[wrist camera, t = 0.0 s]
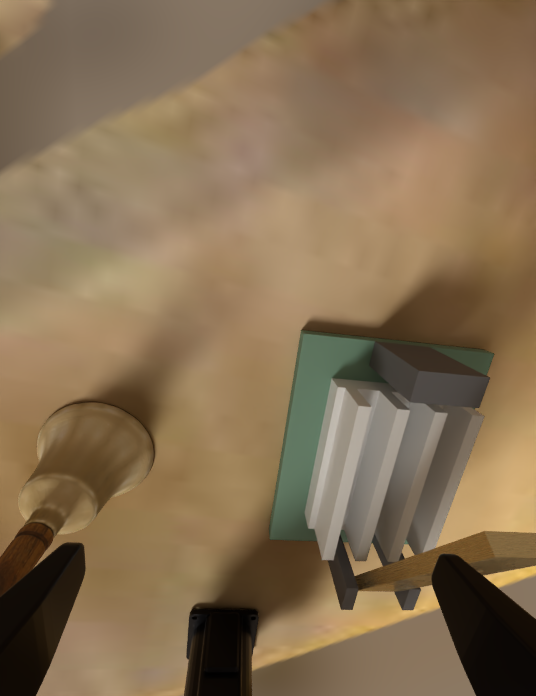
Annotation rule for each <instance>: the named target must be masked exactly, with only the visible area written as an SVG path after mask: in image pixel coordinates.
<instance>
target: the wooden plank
mask: <svg viewBox="0 0 536 696" xmlns="http://www.w3.org/2000/svg"><path fill="white" fill-rule="evenodd" d="M441 554H455V555H458V556H459V557H461V558H462V559H463V560H464V561H466V562H467V563H468V564H469V565H470V566H472V567H473V568H474V569H475V570H477V571H478V572H479V573H480V574H481V575H488V574H493V573H499V572H504V571H509V570H515V569H520V568H525V567H531V566H536V533H518V532H492V531H483V532H480V533H478V534H475V535H472V536H469V537H466V538H463V539H460V540H457V541H455V542H452V543H449V544H446V545H443V546H440V547H437V548H434V549H432V550H429V551H426V552H423V553H420V554H417V555H414V556H411V557H409V558H406V559H403V560H400V561H397V562H394V563H391V564H388V565H386V566H383V567H380V568H377V569H374V570H371V571H368V572H365V573H363V574H360V575H357V576H355V579H356V582H357V585H358V588H359V589H358V591H385V592H398V591H403V590H408V589H414V588H419V587H424V586H430V585H432V580H431V576H432V572H433V570H434V567H435V565H436V562H437V559H438V557H439V555H441Z"/></svg>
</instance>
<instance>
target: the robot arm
mask: <svg viewBox="0 0 536 696" xmlns="http://www.w3.org/2000/svg"><path fill="white" fill-rule="evenodd" d="M84 575H85V552H84V545H83V544H82V543H69V542H68V543H64V544H62V545H61V546H59V547H58V548H57V549H56V550H55V551H53V552H52V553H51V554H50V555H49V556H47V557H46V558H45V559H44V560H43V561H42V562H40V563H39V564H38V565H37V566H36V567H34V568H33V569H32V570H31V571H30V572H29V573H27V574H26V575H25V576H24V577H23V578H21V579H20V580H19V581H18V582H17V583H16V584H14V585H13V586H12V587H11V588H10V589H8V590H7V591H6V592H5V593H4V594H2V595H1V596H0V696H36V694H37V692H38V690H39V688H40V686H41V684H42V682H43V680H44V677H45V675H46V673H47V671H48V669H49V666H50V664H51V662H52V659H53V657H54V654H55V652H56V649H57V646H58V644H59V641H60V639H61V636H62V633H63V631H64V628H65V626H66V623H67V620H68V618H69V615H70V613H71V610H72V607H73V605H74V602H75V600H76V597H77V594H78V592H79V589H80V587H81V584H82V581H83V579H84ZM431 580H432V586H433V589H434V591H435V594H436V597H437V600H438V602H439V605H440V608H441V610H442V613H443V616H444V618H445V621H446V624H447V626H448V629H449V632H450V634H451V637H452V640H453V642H454V645H455V648H456V650H457V653H458V655H459V658H460V660H461V663H462V665H463V667H464V670H465V672H466V674H467V676H468V679H469V681H470V683H471V685H472V687H473V690H474V692H475V694H476V696H536V619H535V618H534V617H532V616H531V615H530V614H529V613H528V612H526V611H525V610H524V609H523V608H521V607H520V606H519V605H518V604H517V603H515V602H514V601H513V600H512V599H511V598H509V597H508V596H507V595H506V594H505V593H503V592H502V591H501V590H500V589H498V588H497V587H496V586H495V585H494V584H492V583H491V582H490V581H489V580H488V579H486V578H485V577H484V576H483V575H481V574H480V573H479V572H478V571H477V570H475V569H474V568H473V567H472V566H470V565H469V564H468V563H467V562H466V561H464V560H463V559H462V558H461V557H459V556H458V555H455V554H441V555H439V557H438V559H437V562H436V565H435V567H434V570H433V572H432V576H431ZM257 624H258V611H256V610H208V609H195V610H192V611H191V612H190V616H189V628H188V642H187V656H186V657H187V659H189V663H188V670H187V677H186V684H185V691H184V696H252V654H253V648H254V642H255V636H256V630H257Z"/></svg>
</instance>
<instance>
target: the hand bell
mask: <svg viewBox="0 0 536 696" xmlns="http://www.w3.org/2000/svg"><path fill="white" fill-rule="evenodd" d="M37 455H38V460H39V464H38V466H37V468H36V469H35V471H34V473H33V474H32V475H31V477H30V478H29V480H28V481H27V482H26V483H25V485H24V486H23V488H22V489H21V492H20V494H19V499H18V504H19V509H20V512H21V514H22V516H23V517H24V519H25V520H26V521H27V522H26V523H25V525H24V527H22V528H21V529H20V530H19V532H18V533H17V535H16V536H15V539H14V540H13V541H12V542H11V543H10V545H9V546H8V547H7V549H6V550H5V551H4V553H3V554H2V556H1V557H0V596H1V595H2V594H4V593H5V592H6V591H7V590H8V589H10V588H11V587H12V586H13V585H14V584H16V583H17V582H18V581H19V580H20V579H21V578H23V577H24V576H25V575H26V574H27V573H29V572H30V571H31V570H32V569H33V568H34V566H35V565H36V564H37V562H38V561H39V559H40V558H41V557H42V555H43V554H44V552H45V551H46V550H47V549H48V547H49V546H50V545H51V543H52V541H53V538H54V537H55V536H56V535H57V534H68V533H73V532H76V531H79V530H81V529H83V528H85V527H86V526H88V525H89V524H90V523H91V522H92V521H93V520H94V519H95V517H96V516H97V514H98V513H99V512H100V510H101V509H102V507H103V506H104V505H105V504H106V503H107V501H108V500H109V499H110V498H111V497H115V496H118V495H121V494H124V493H126V492H128V491H130V490H131V489H133V488H135V487H136V486H137V485H139V484H140V483H141V482H142V481H143V480H144V479H145V478H146V476H147V475H148V473H149V471H150V470H151V467H152V464H153V459H154V449H153V444H152V441H151V438H150V436H149V434H148V432H147V431H146V429H145V428H144V427H143V426H142V424H141V423H140V422H139V421H138V420H137V419H136V418H134V417H133V416H132V415H130V414H128V413H127V412H125V411H123V410H121V409H120V408H117V407H114V406H111V405H107V404H104V403H95V402H87V403H79V404H73V405H70V406H67V407H64V408H63V409H61V410H58V411H57V412H55V413H54V414H53V415H52V416H50V417H49V418H48V419H47V421H46V422H45V423H44V425H43V426H42V428H41V430H40V433H39V436H38V441H37Z"/></svg>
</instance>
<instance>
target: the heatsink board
mask: <svg viewBox="0 0 536 696" xmlns="http://www.w3.org/2000/svg"><path fill="white" fill-rule="evenodd" d="M493 356H494V353H491V352H489V351H486V350H482V349H473V348H464V347H454V346H445V345H436V344H427V343H417V342H408V341H399V340H389V339H380V338H371V337H361V336H352V335H343V334H333V333H324V332H315V331H305V330H301V334H300V340H299V347H298V353H297V359H296V365H295V371H294V378H293V384H292V390H291V396H290V402H289V408H288V415H287V421H286V427H285V433H284V439H283V446H282V452H281V458H280V464H279V470H278V476H277V483H276V489H275V495H274V501H273V507H272V514H271V520H270V526H269V536H270V540H295V541H318V545H319V549H320V553H321V557H322V560H328V562H329V566H330V570H331V574H332V577H333V581H334V585H335V589H336V592H337V596H338V600H339V604H340V607H341V610H353V606H354V603H355V599H356V596H357V593H358V589H359V588H358V585H357V582H356V579H355V576H354V573H353V570H352V567H351V564H350V561H349V558H348V555H347V552H346V549H345V547H344V544H343V542H349V545H350V548H351V550H352V553H353V556H354V559H355V561H366V560H367V557H368V553H369V550H370V546H371V543H373V544H374V547H375V549H376V551H377V554H378V556H379V558H380V560H381V563H382V565H383V566H386V565H388V564H391V563H394V562H397V561H400V560H403V559H405V558H404V556H403V554H402V549H403V546H404V544H409V545H410V547H411V549H412V551H413V553H414V554H415V555H417V554H420V553H423V552H426V551H429V550H432V549H434V548H435V547H436V544H437V541H438V539H439V536H440V533H441V531H442V528H443V526H444V523H445V520H446V518H447V515H448V512H449V510H450V507H451V504H452V502H453V499H454V496H455V494H456V491H457V488H458V486H459V483H460V480H461V478H462V475H463V472H464V470H465V467H466V464H467V462H468V459H469V456H470V454H471V451H472V448H473V446H474V443H475V440H476V438H477V435H478V432H479V430H480V427H481V424H482V422H483V419H484V416H483V415H482V414H480V413H479V412H477V411H476V410H474V409H475V408H479V407H480V404H481V401H482V399H483V396H484V393H485V390H486V388H487V385H488V382H489V380H490V377H488V376H487V373H488V370H489V367H490V365H491V362H492V359H493ZM420 591H421V589H420V587H419V588H414V589H408V590H403V591H398V592H395V595H396V597H397V599H398V601H399V604H400V606H401V608H402V610H413V609H414V607H415V604H416V601H417V599H418V596H419V594H420Z"/></svg>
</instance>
